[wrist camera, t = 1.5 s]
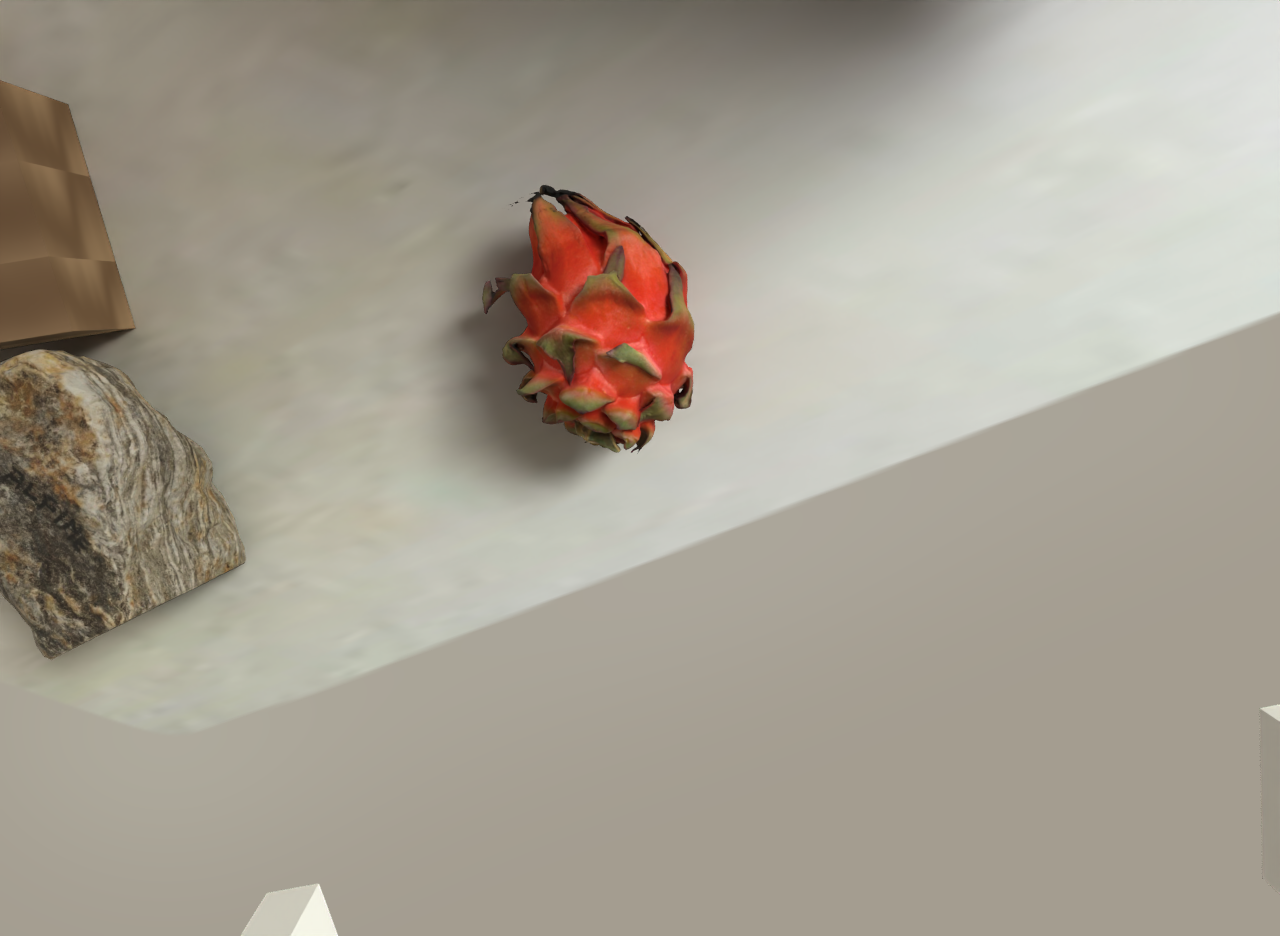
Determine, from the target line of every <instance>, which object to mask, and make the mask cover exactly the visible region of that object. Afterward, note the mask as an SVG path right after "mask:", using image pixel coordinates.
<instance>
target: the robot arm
mask: <svg viewBox="0 0 1280 936" xmlns="http://www.w3.org/2000/svg"><path fill="white" fill-rule="evenodd" d="M1260 761H1261V762H1260V767H1261V824H1262V825H1261V827H1262V878H1263V879H1264V880H1265V881H1266V882H1267V883H1268V884H1269V885H1270V886H1271V887H1272V888H1274V889H1275V890H1276V891H1277V892H1278V893H1279V894H1280V705H1275V706H1269V707H1264V708H1260ZM241 936H338V934H337V931H336V929H335V926H334V923H333V921H332V918H331V915H330V912H329V910H328V907H327V904H326V902H325V899H324V896H323V894H322V891H321V888H320V885H319V884H313V885H308V886H302V887H297V888H292V889H286V890H281V891H275V892H270V893H267V894H266V895H265V897H264V899H263V900H262V902H261V903H260V905H259V907H258V908H257V910H256V911H255V913H254V915H253V917H252V918H251V920H250V921H249V923H248V924H247V926H246V928H245V929H244V931H243V933H242V934H241Z"/></svg>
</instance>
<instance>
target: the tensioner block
mask: <svg viewBox="0 0 1280 936" xmlns="http://www.w3.org/2000/svg"><path fill="white" fill-rule="evenodd" d="M133 328H135V325H134V322H133V318H132V315H131V312H130V308H129V305H128V302H127V299H126V295H125V292H124V289H123V285H122V282H121V279H120V275H119V272H118V269H117V265H116V262H115V259H114V255H113V252H112V249H111V245H110V242H109V239H108V236H107V232H106V229H105V226H104V222H103V219H102V216H101V212H100V209H99V206H98V202H97V199H96V196H95V192H94V189H93V186H92V182H91V179H90V176H89V173H88V169H87V166H86V163H85V159H84V156H83V153H82V149H81V146H80V143H79V139H78V136H77V133H76V129H75V126H74V123H73V119H72V116H71V113H70V109H69V106H68V104H65V103H62V102H60V101H57V100H54V99H51V98H48V97H46V96H43V95H40V94H37V93H34V92H31V91H29V90H26V89H23V88H20V87H17V86H14V85H12V84H9V83H6V82H3V81H0V349H6V348H13V347H19V346H25V345H32V344H38V343H44V342H51V341H57V340H63V339H69V338H76V337H82V336H88V335H95V334H101V333H107V332H114V331H120V330H126V329H133Z"/></svg>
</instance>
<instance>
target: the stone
mask: <svg viewBox="0 0 1280 936" xmlns="http://www.w3.org/2000/svg"><path fill="white" fill-rule="evenodd" d="M212 475H213V469H212V462H211V461H210V459H209V458H208V456H207V454H206V453H205V451H204V450H203V448H202V447H200V446H199V445H198V444H197V443H195V442H194V441H192V440H191V439H189V438H188V437H186V436H185V435H183V434H181V433H180V432H178V431H176V429H175V428H174V427H173V426H171V424H170V422H169V421H168V419H167V417H165V416H164V415H162V414H161V413H159V412H158V411H156V410H155V409H154V408H153V407H152V406H151V405H150V404H149V403H148V402H147V401H146V400H145V399H144V398H143V397H142V396H141V394H140V393H139V392H138V391H137V390H136V388H135V386H134V384H133V382H132V381H131V380H130V378H129V377H128V376H127V375H126V374H124V373H123V372H122V371H120V370H119V369H117V368H115V367H112V366H110V365H108V364H106V363H103V362H100V361H96V360H93V359H90V358H87V357H85V356H82V357H77V356H74V355H71V354H69V353H67V352H65V351H50V350H42V349H38V350H34V351H30V352H26V353H23V354H20V355H17V356H14V357H12V358H9V359H7V360H5V361H3V362H1V363H0V593H1V594H2V595H3V596H4V598H5V599H6V600H7V601H8V602H9V603H10V604H12V605H13V606H14V607H15V609H16V610H17V611H18V612H19V614H20V615H21V616H22V618H23V619H24V620H25V621H26V622H27V624H28V625H29V626H30V627H31V628H32V632H33V636H34V639H35V642H36V645H37V647H38V648H39V650H40V651H41V653H42V654H43V655H44V657H46V658H48V659H50V660H51V659H53V658H55V657H57V656H59V655H61V654H63V653H66V652H67V651H69V650H71V649H73V648H75V647H77V646H79V645H81V644H83V643H85V642H87V641H89V640H91V639H93V638H95V637H97V636H99V635H101V634H103V633H105V632H107V631H109V630H111V629H113V628H115V627H117V626H119V625H121V624H123V623H125V622H127V621H129V620H131V619H133V618H135V617H137V616H139V615H141V614H143V613H145V612H147V611H149V610H151V609H153V608H155V607H157V606H159V605H161V604H163V603H165V602H167V601H169V600H171V599H173V598H175V597H177V596H180V595H182V594H184V593H186V592H188V591H190V590H192V589H194V588H196V587H198V586H200V585H202V584H204V583H206V582H208V581H210V580H211V579H213V578H215V577H217V576H219V575H221V574H223V573H226V572H228V571H230V570H232V569H234V568H236V567H238V566H240V565H242V564H244V563H245V561H246V557H245V550H244V546H243V544H242V541H241V539H240V536H239V534H238V530H237V527H236V523H235V519H234V517H233V515H232V513H231V511H230V510H229V508H228V505H227V503H226V501H225V499H224V497H223V496H222V494H221V492H220V491H219V490H218V489H217V488H216V487H215V486H214V485H213V483H212V482H211V480H212Z"/></svg>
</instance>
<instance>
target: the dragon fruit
mask: <svg viewBox="0 0 1280 936" xmlns="http://www.w3.org/2000/svg"><path fill="white" fill-rule="evenodd" d="M539 192H540V193H539ZM539 192H535V193H534V194H536V195H535V196H534V197H532V198H530V199H529V200H528V202H533V203H532V207H531V209H530V212H531V217H530V223H529V236H530V240H531V244H532V250H533V268H532V273H527V274H512V276H511V278H495V280H496V283H497V287H498V288H499V289H498V290H497V291H496V292H492V286H491V281H487V282H486V283H485V286H484V290H483V297H482V300H483V304H484V313H485V314H487V312H488V311H487V310H488V309H489V308H490V307H491V306H492V305H493V304H494V302H495V301H496V300H497V299H498V298H499V297H501V295H503V294H504V293H505V292H507V291H510V293H511V296H512V298H513V300H514V302H515V304H516V306H517V307H518V309H519V310H520V311H521V313H522V314H523V315H524V317H525V318H526V320H527V323H528V326H527V328H526V329H525V331H524V332H523V334H522V335H520V336H518V337H514V338H512V339H510V340H509V341H508V342H507V343H506V344H505V347H504V348H503V349H502V351H503V355H502V356H503V358H504V360H505V361H506V362H507V363H509V364H511V365H517V364H526V365H527V366H528V367H529V368H530V369H532V370H531V371H529V372H528V373H527V374H526V375H525V376H524V378H523V380H522V383H521V385H520V387H519V390H516V391H517V393H518V394H519V395H521V396H522V397H523V398H524V399H525V400H526V401H528V402H531V403H537V399H536V396H537V392H543V393H545V394H547V399H546V402H545V404H544V409H543V417H542V422H543V423H547V424H556V423H562V422H564V424H565V428H566V429H567V430H568V431H569V432H570V433H573V434H575V435H579V436H582V437H583V438H584V440H585V441H586V442H590V444H592V445H600V446H602V447H604V448H609V449H610V450H612V451H614V452H620V448H619V446H618V445H617V444H619V443H622V444H624V449H626V450H627V449H629V448H631V447H632V446H633V445H634V444H635V443H636V444H637V447H636V448H634V449H633V450H632V451H631V453H632V452H633V451H634V450H637V449H639V451H640V449H641V448H642V447H643V446H644V445H645V444H646V443H648V442H649V441H650V440H651V438H652V437H653V434H654V431H655V422H654V421H655V420H658V421H664V420H668V421H669V420H670V418H671V416H672V414H673V409H674V404H675V406H676V407H677V408H679V409H685V408H688V407H690V404H691V397H692V393H693V390H692V387H693V370H692V368H690V367H688V366H687V364H686V363H685V362H684V361H685V357H686V355H687V354H688V352H689V351H690V350H691V348H692V344H693V340H694V322H693V320H692V317H691V314H690V312H689V310H688V308H687V274H686V272H685V270H684V269H683V268H682V266H681V265H680V264H679V263H677V262H672V260H671V259H670V258H669V257H668V255H667V254H666V253H665V252H664V251H663V250H662V249H661V248H660V247H659V245H658V244H657V243H656V242H655V241H654V240H653V239H652V238H651V237H650V236H649V234H648V233H647V232H646V231H645V229H644V228H642V227H641V226H640V225H639V224H638V223H637V222H635V221H634V220H633V219H631V218H629V217H628V216H626V217H625V219H626V220H627V221H628V222H629V223H627V222H624V221H622V220H620V219H618V218H616V217H614V216H612V215H610V214H608V213H606V212H604V211H603V210H602V209H600V208H599V207H598V206H596V205H595V204H594V203H593V202H592V201H590V200H589V199H587V198H586V197H584V196H583V195H581V194H579V193H576V192H571V191H568V190H558V191H555V189H554V188H552V187H550V186H547V185H542V186H541V187H540V191H539ZM531 194H532V193H531ZM544 194H545V195H548V196H551V197H555V198H556V200H557V202H558V203H560V204H562V205H563V207H564V209H565V212H566V213H567V214H566V215H564V214H563V213H562V212H560V211H557V209H556V208H555V206H554V205H552V204H551V203H549V202H547V201H546V200H544V199H543V198H542V197H541V195H544ZM521 198H522V197H521ZM525 202H526V201H525ZM516 203H520V202H515V204H516ZM512 206H513V205H512ZM640 227H641V228H642V229H643V230H644V231H645V232H646V233H645V232H644V231H643V230H642V229H641V228H640ZM639 232H640V233H641V234H642V236H641V235H640V233H639ZM521 351H523V352H525V353H527V354H528V355H529V356H530V358H531V360H532V362H533V364H534V366H533V365H532V364H531V362H530V360H529V359H528V358H526V357H525V356H524V355H523V353H522V352H521ZM680 388H681V389H682V388H683V390H682V391H681V392H680V393H679V389H680ZM586 442H585V443H586ZM639 451H638V452H639Z"/></svg>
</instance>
